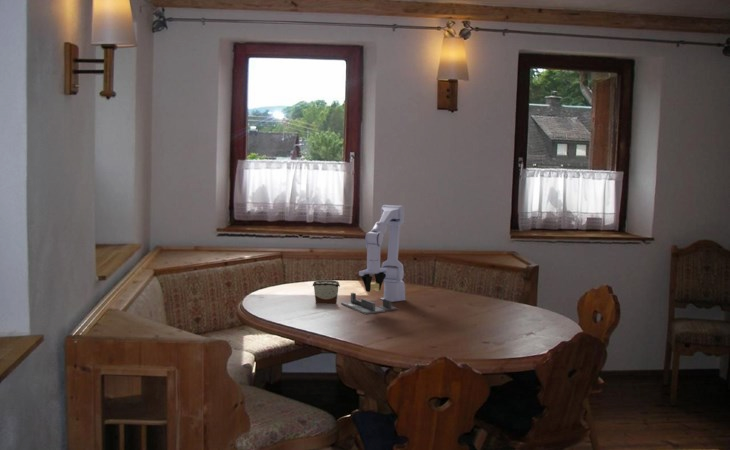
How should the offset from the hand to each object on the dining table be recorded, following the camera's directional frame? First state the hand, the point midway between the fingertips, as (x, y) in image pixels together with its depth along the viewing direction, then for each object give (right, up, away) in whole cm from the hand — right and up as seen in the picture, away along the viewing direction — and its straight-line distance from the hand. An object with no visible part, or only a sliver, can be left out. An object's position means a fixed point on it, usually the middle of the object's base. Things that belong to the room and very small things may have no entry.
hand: (373, 290), depth 335 cm
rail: (-5, -8, +7) cm, 12 cm away
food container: (-21, -7, +16) cm, 27 cm away
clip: (0, 0, 0) cm, 0 cm away
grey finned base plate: (+6, -8, +6) cm, 12 cm away
